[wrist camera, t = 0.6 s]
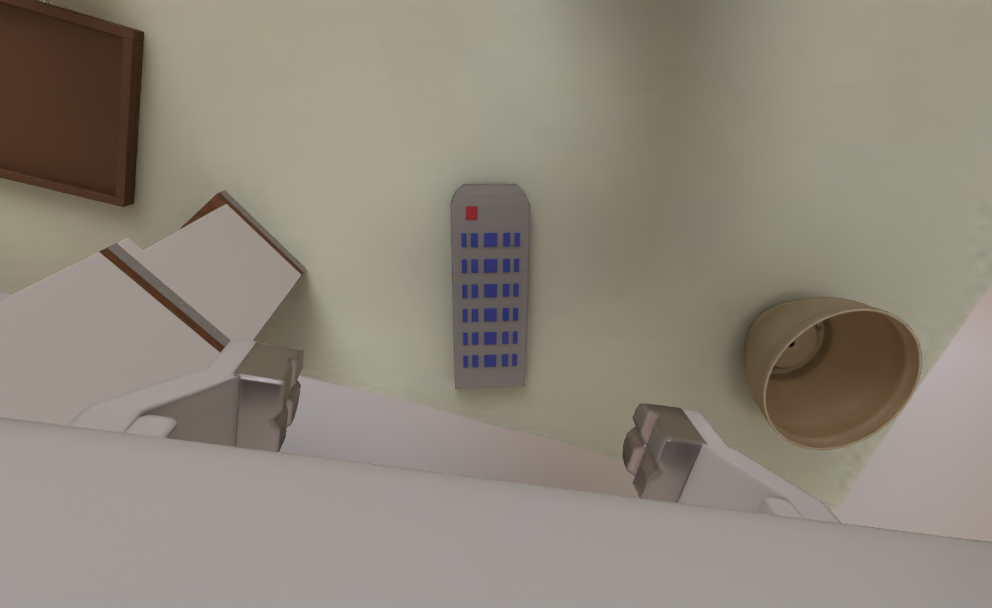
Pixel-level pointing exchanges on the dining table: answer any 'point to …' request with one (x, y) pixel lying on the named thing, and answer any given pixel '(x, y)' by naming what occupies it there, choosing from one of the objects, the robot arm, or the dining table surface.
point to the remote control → (490, 284)
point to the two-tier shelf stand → (139, 313)
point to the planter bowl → (830, 370)
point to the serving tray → (69, 101)
